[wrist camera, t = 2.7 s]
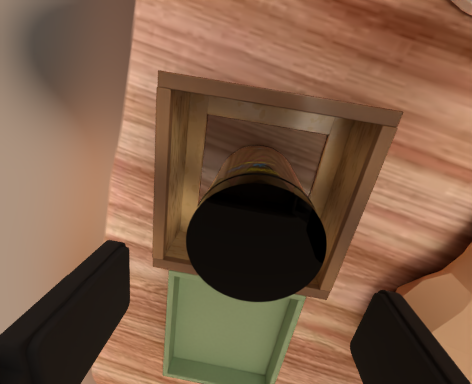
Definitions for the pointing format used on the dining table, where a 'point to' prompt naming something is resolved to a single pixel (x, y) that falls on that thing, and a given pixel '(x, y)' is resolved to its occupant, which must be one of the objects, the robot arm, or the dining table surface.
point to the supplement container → (256, 229)
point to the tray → (224, 334)
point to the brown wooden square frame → (277, 114)
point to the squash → (447, 308)
